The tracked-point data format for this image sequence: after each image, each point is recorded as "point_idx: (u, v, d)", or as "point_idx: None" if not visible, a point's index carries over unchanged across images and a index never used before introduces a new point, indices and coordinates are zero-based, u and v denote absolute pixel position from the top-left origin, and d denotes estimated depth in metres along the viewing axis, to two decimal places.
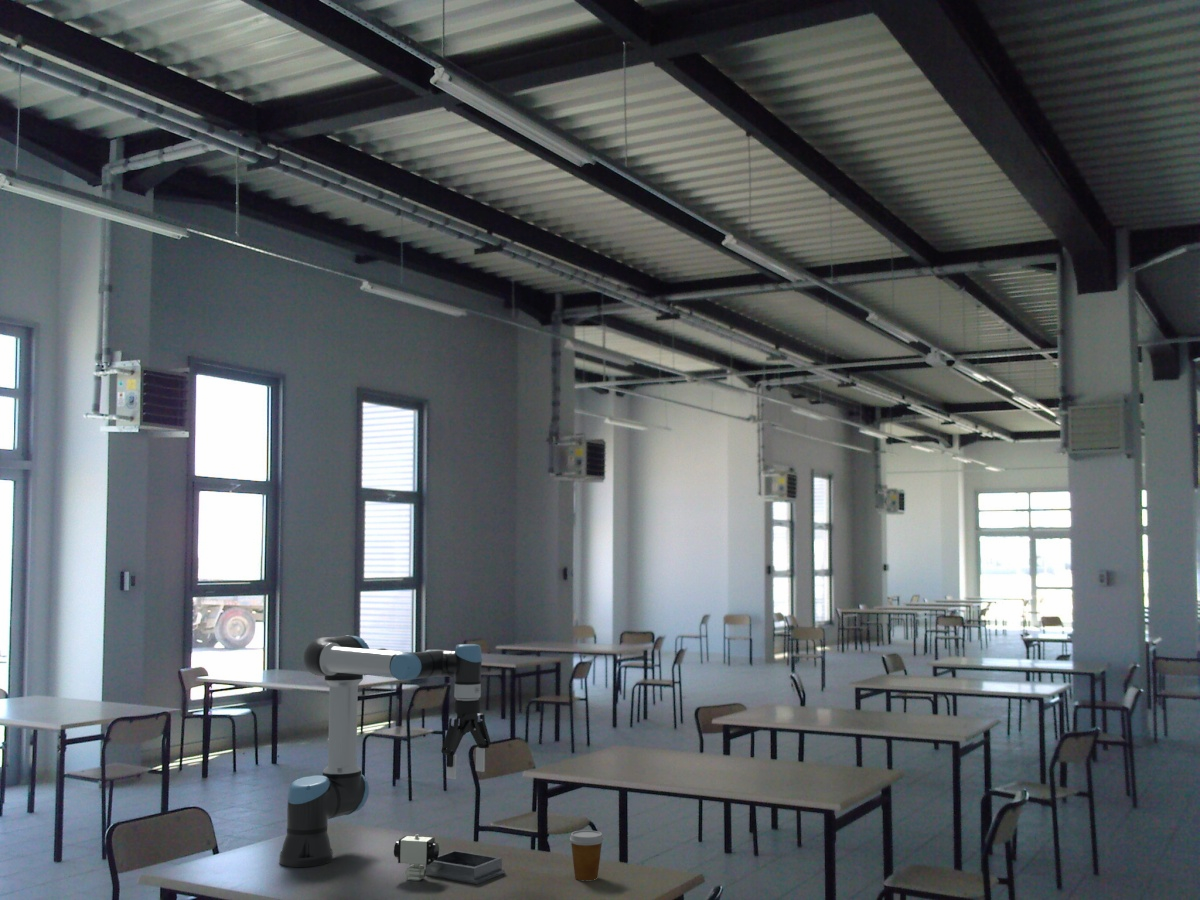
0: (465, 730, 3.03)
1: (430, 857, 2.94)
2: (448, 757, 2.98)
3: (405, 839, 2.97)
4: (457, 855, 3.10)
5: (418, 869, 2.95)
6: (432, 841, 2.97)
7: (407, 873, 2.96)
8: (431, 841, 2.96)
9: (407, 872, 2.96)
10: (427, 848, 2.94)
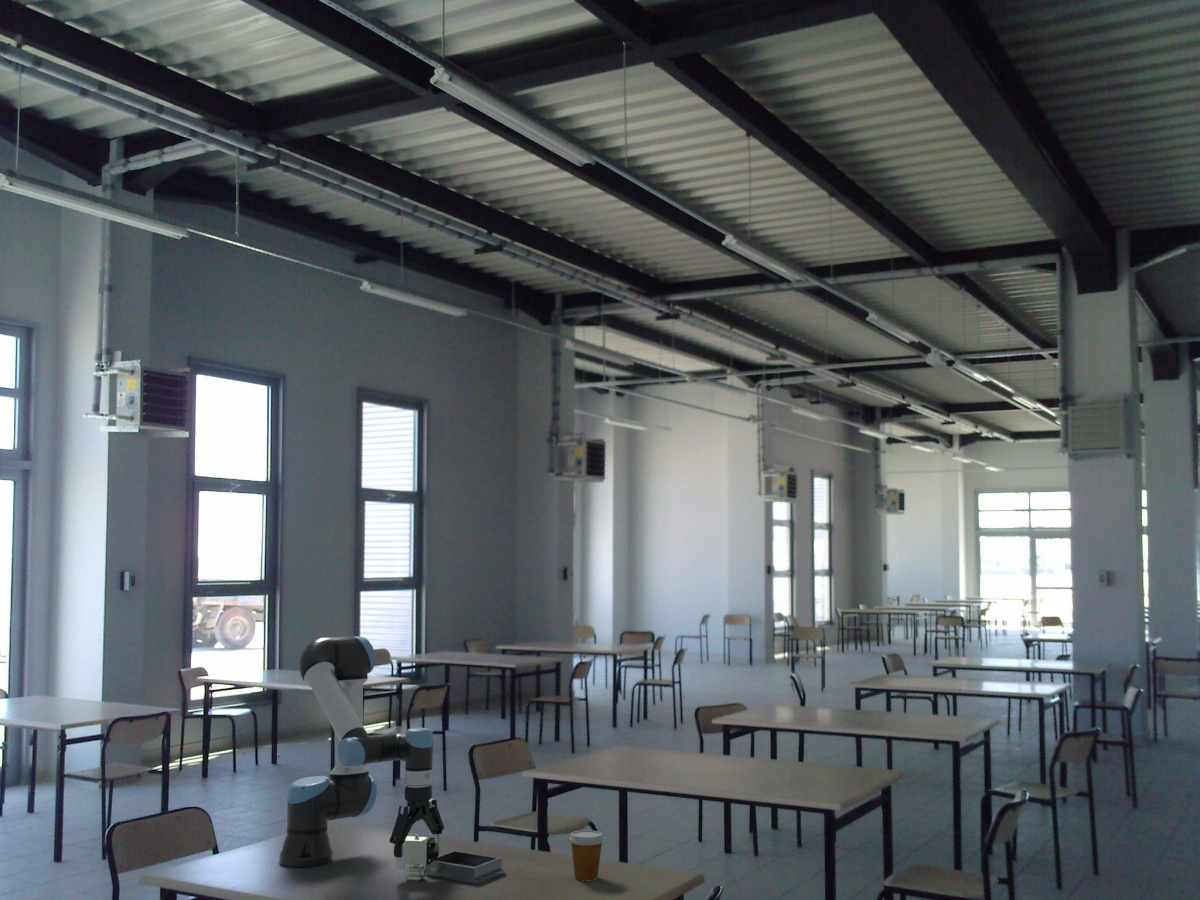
0: (415, 818, 2.95)
1: (430, 857, 2.94)
2: (397, 847, 2.90)
3: (405, 839, 2.97)
4: (457, 855, 3.10)
5: (418, 869, 2.95)
6: (432, 841, 2.97)
7: (407, 873, 2.96)
8: (431, 841, 2.96)
9: (407, 872, 2.96)
10: (427, 848, 2.94)
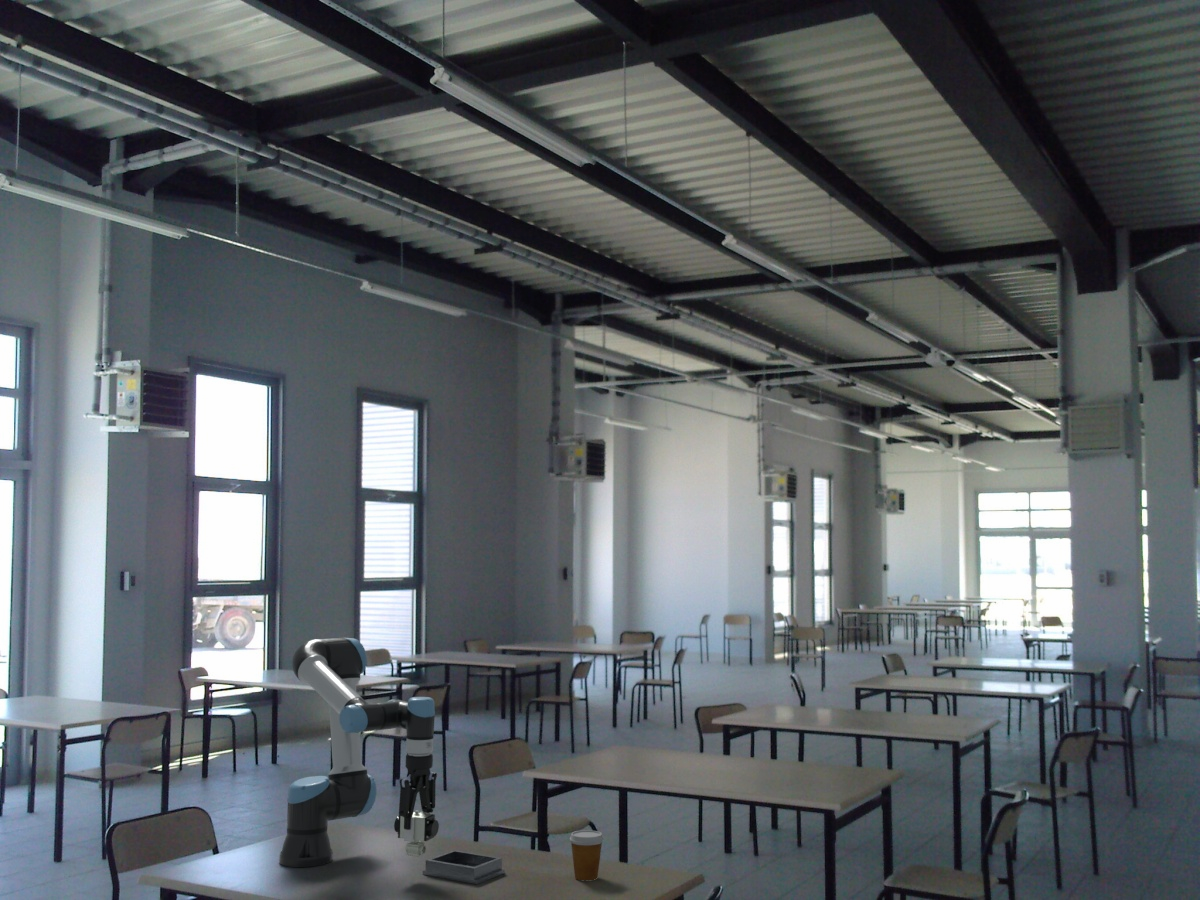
0: (418, 788, 2.97)
1: (428, 834, 2.95)
2: (406, 819, 2.95)
3: None
4: (457, 855, 3.10)
5: (417, 845, 2.96)
6: (431, 818, 2.98)
7: (407, 848, 2.97)
8: (430, 818, 2.97)
9: (407, 847, 2.97)
10: (425, 825, 2.95)
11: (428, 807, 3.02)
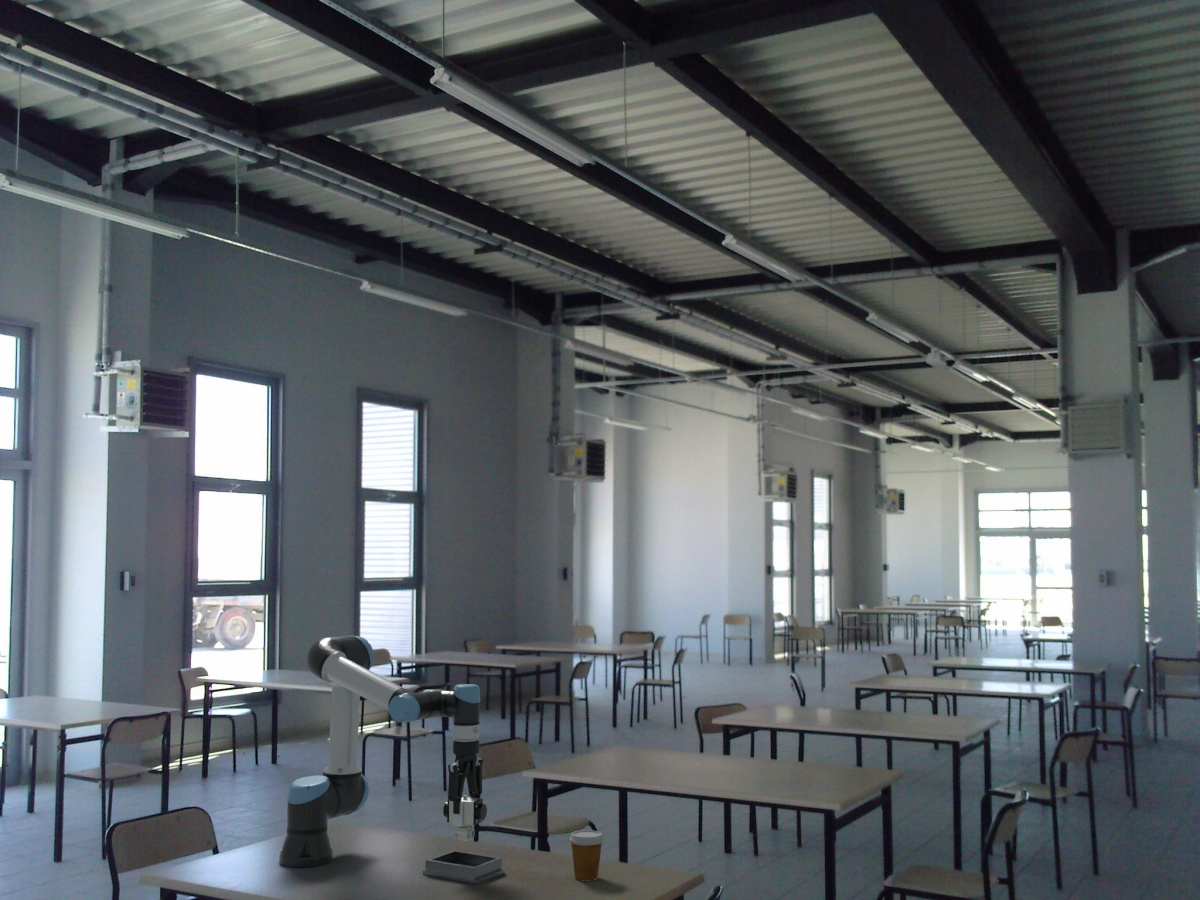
0: (466, 773, 3.03)
1: (477, 817, 3.00)
2: (455, 804, 3.00)
3: None
4: (457, 855, 3.10)
5: (466, 829, 3.01)
6: (480, 802, 3.03)
7: (456, 833, 3.03)
8: (478, 802, 3.02)
9: (456, 832, 3.03)
10: (474, 808, 3.00)
11: (475, 792, 3.07)
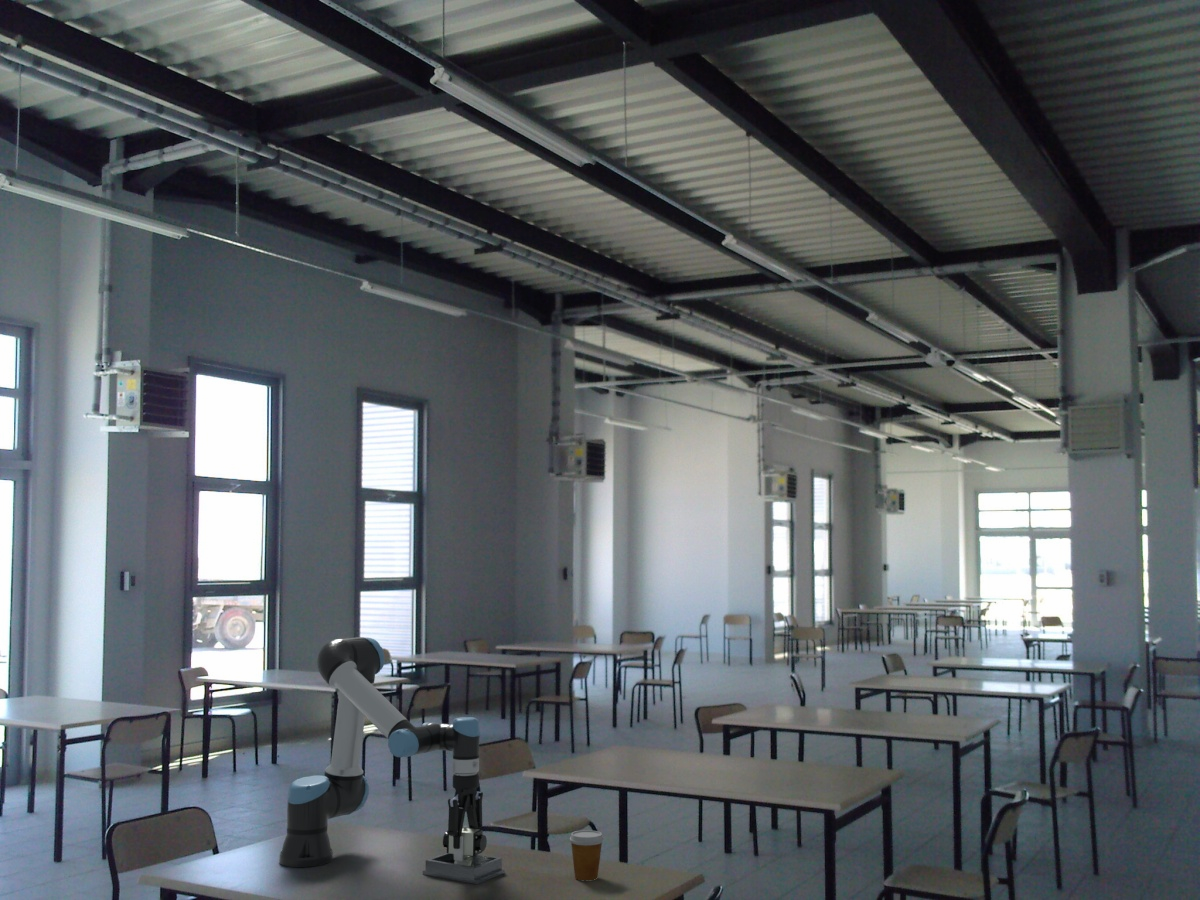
0: (466, 807, 3.02)
1: (477, 848, 2.99)
2: (455, 839, 2.99)
3: None
4: None
5: (466, 860, 3.00)
6: (479, 833, 3.02)
7: (455, 863, 3.02)
8: (478, 833, 3.01)
9: (455, 862, 3.02)
10: (474, 840, 2.99)
11: (476, 826, 3.06)
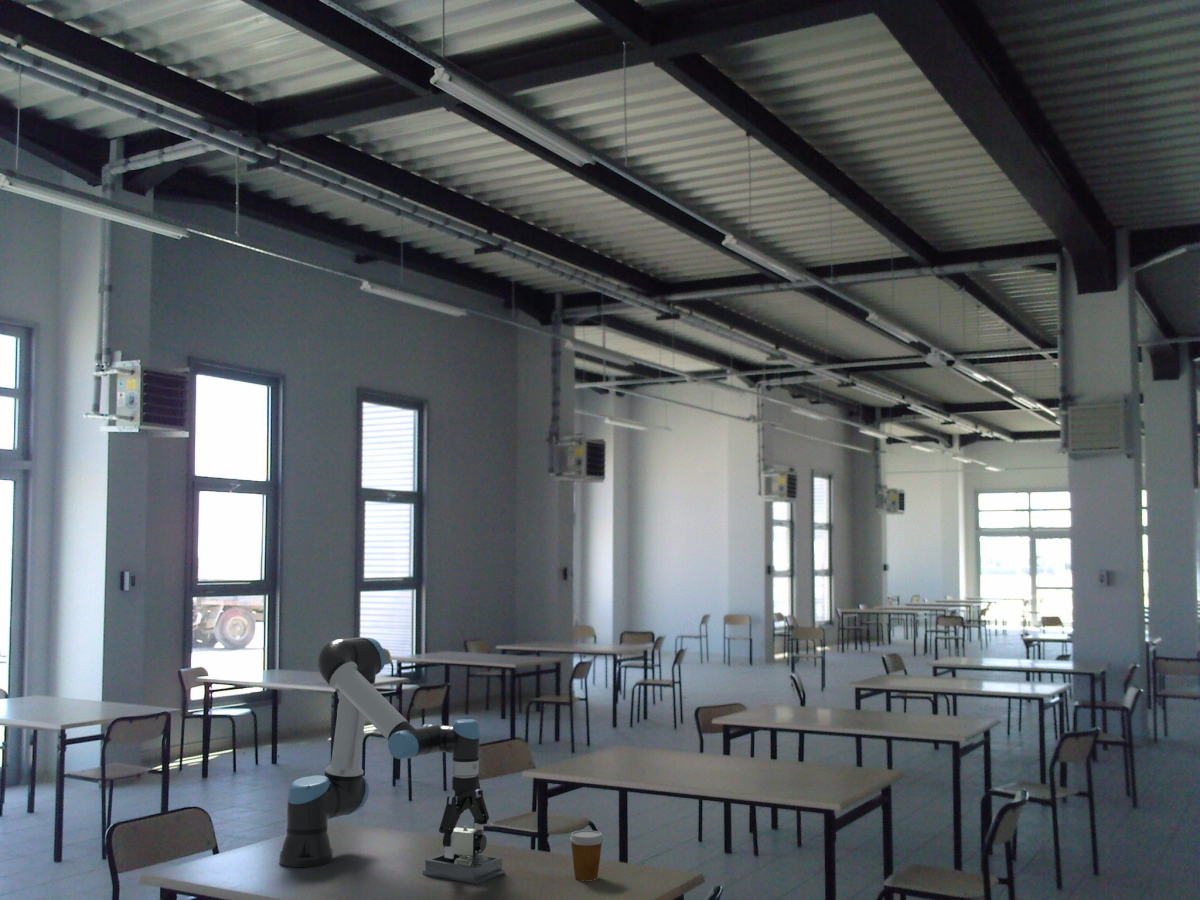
0: (463, 808, 3.01)
1: (477, 848, 2.99)
2: (446, 836, 2.96)
3: (453, 830, 3.03)
4: (457, 855, 3.10)
5: (466, 860, 3.00)
6: (479, 833, 3.02)
7: (455, 863, 3.02)
8: (478, 833, 3.01)
9: (455, 862, 3.02)
10: (474, 840, 2.99)
11: (482, 820, 3.09)
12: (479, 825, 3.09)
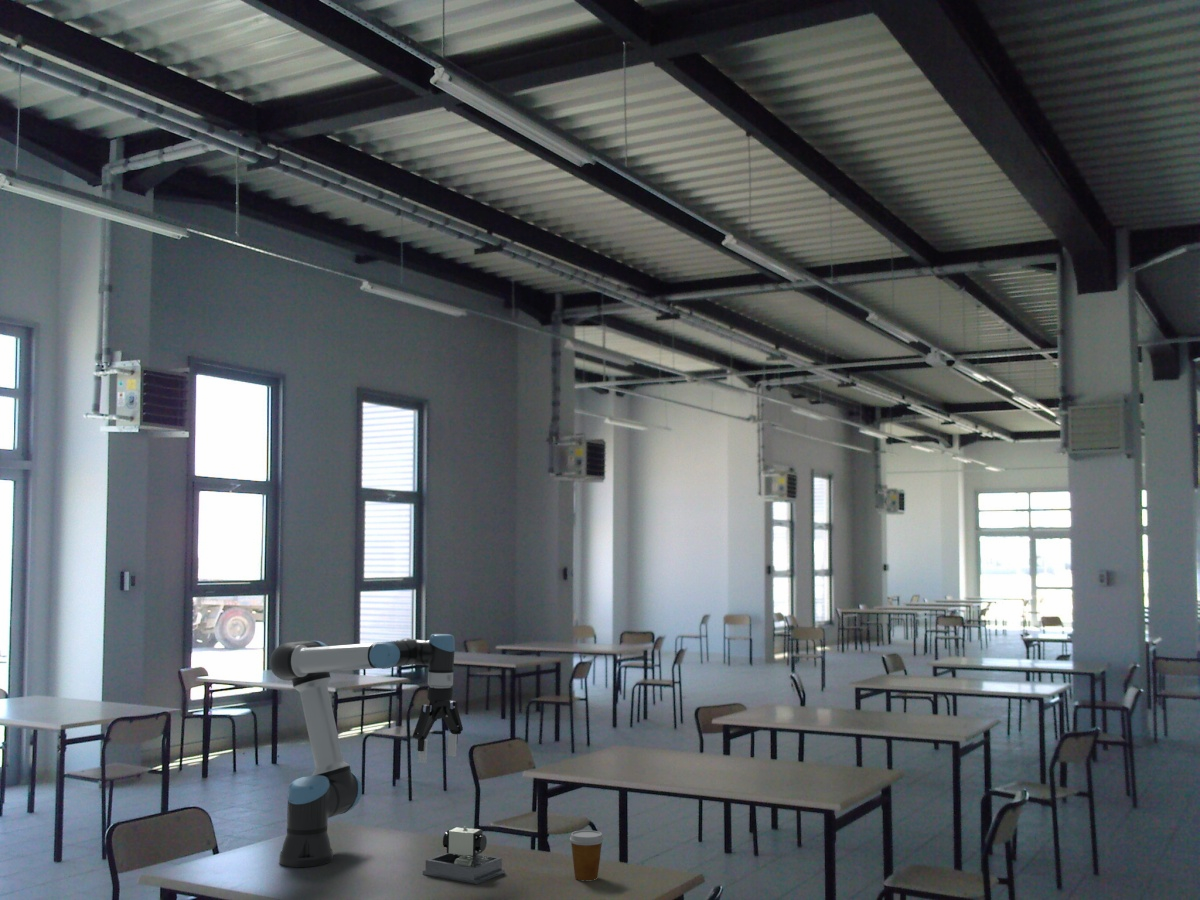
0: (437, 716, 3.15)
1: (477, 848, 2.99)
2: (419, 742, 3.11)
3: (453, 830, 3.03)
4: (457, 855, 3.10)
5: (466, 860, 3.00)
6: (479, 833, 3.02)
7: (455, 863, 3.02)
8: (478, 833, 3.01)
9: (455, 862, 3.02)
10: (474, 840, 2.99)
11: (456, 730, 3.24)
12: (453, 735, 3.23)
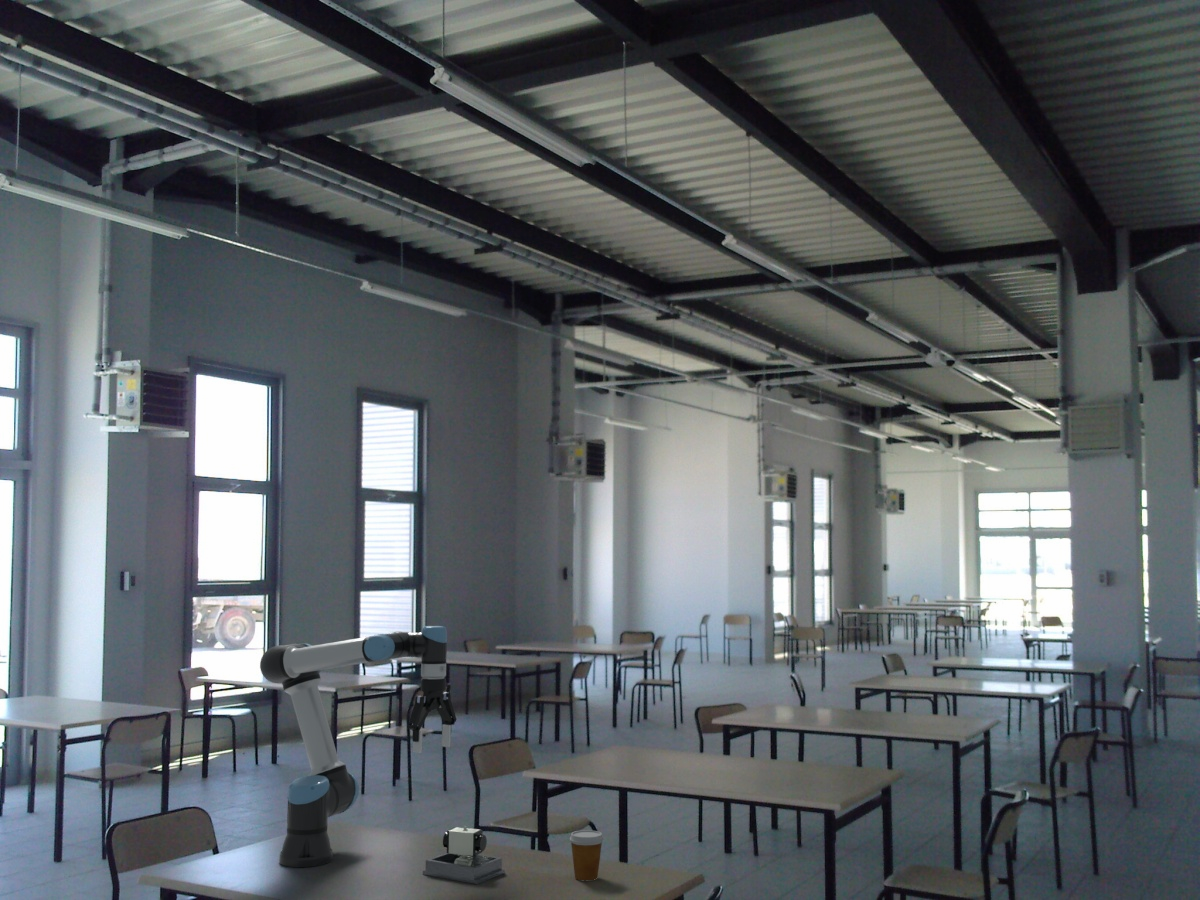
0: (431, 707, 3.19)
1: (477, 848, 2.99)
2: (414, 732, 3.14)
3: (453, 830, 3.03)
4: (457, 855, 3.10)
5: (466, 860, 3.00)
6: (479, 833, 3.02)
7: (455, 863, 3.02)
8: (478, 833, 3.01)
9: (455, 862, 3.02)
10: (474, 840, 2.99)
11: (449, 721, 3.27)
12: (447, 726, 3.27)
